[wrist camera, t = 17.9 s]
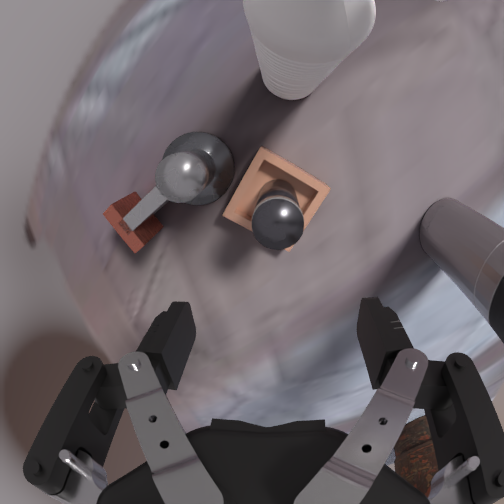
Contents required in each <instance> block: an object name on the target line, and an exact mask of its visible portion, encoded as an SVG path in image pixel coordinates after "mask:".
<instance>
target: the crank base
mask: <svg viewBox="0 0 504 504" xmlns="http://www.w3.org/2000/svg"><path fill="white" fill-rule="evenodd" d="M190 149H201V150H203V151H205V152H207V153H208V154H209V155H210V156H211V157H212V158H213V160H214V163H215V167H216V172H215V176H214V179H213V181H212V182H211V183H210V184H209V185H208V186H207V187H206V188H205V189H203V190H202V191H201V192H200V193H199V194H198V195H197V196H195V197H194V198H193V199H192V200H190V201H187V202H184V203H187V204H192V205H204V204H208V203H211V202H213V201H215V200H217V199H218V198H219V197H221V196H222V195H223V194H224V193H225V191H226V190H227V189H228V187H229V186H230V184H231V182H232V179H233V175H234V161H233V157H232V154H231V152H230V150H229V148H228V147H227V145H226V144H225V143H224V142H223V141H222V140H221V139H219V138H218V137H216V136H214V135H212V134H209V133H205V132H191V133H187V134H184V135H182V136H180V137H178V138H177V139H175V140H174V141H173V142H172V143H171V144H170V145H169V146H168V148H167V149H166V151H165V153H164V156H163V159H164V158H165V157H167V156H169V155H171V154H175V153H178V152H182V151H186V150H190ZM163 159H162V160H163Z"/></svg>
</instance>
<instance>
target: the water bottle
mask: <svg viewBox="0 0 504 504" xmlns="http://www.w3.org/2000/svg"><path fill="white" fill-rule="evenodd" d="M436 1H441V2H445V1H449V0H436ZM243 7H244V12H245V16H246V19H247V21H248V24H249V27H250V31H251V34H252V38H253V42H254V46H255V51H256V55H257V59H258V62H259V66H260V70H261V75H262V79H263V82H264V84H265V86H266V87H267V89H268V90H269V91H270V92H271V93H273V94H274V95H276V96H278V97H280V98H282V99H287V100H297V99H301V98H304V97H306V96H308V95H309V94H311V93H312V92H313V91H314V90H315V89H316V88H317V86H318V85H320V83H321V82H322V81H323V80H324V79H325V78H326V77H327V76H328V75H329V74H331V73H332V71H333V70H334V69H335V68H336V67H337V66H338V65H339V64H340V63H341V62H342V61H343V60H344V59H345V58H346V57H347V56H348V55H349V54H350V53H351V52H352V51H354V50H355V49H356V48H357V47H359V46H360V45H361V44H362V43H363V42H364V41H365V39H366V38H367V37H368V35H369V34H370V32H371V30H372V28H373V25H374V22H375V16H376V8H375V1H374V0H243Z"/></svg>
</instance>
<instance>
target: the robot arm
mask: <svg viewBox="0 0 504 504" xmlns="http://www.w3.org/2000/svg"><path fill="white" fill-rule="evenodd" d="M420 242H421V245H422V248H423V250H424V251H425V252H426V253H427V254H428V255H429V256H430V257H431V258H432V260H433V261H434V262H435V263H436V264H437V265H438V266H439V267H440V268H441V269H442V270H443V271H444V272H445V273H446V274H447V275H448V276H449V278H450V279H451V280H452V281H453V282H454V283H455V284H456V285H457V286H458V287H459V289H460V290H461V291H462V292H463V293H464V294H465V295H466V297H467V298H468V299H469V300H470V301H471V302H472V304H473V305H474V306H475V307H476V308H477V310H478V311H479V312H480V313H481V314H482V316H483V317H484V318H485V319H486V321H487V322H488V323H489V324H490V326H491V327H492V328H493V330H494V331H495V332H496V334H497V335H498V336H499V338H500V339H501V340H502V342H503V343H504V228H503V227H501V226H500V225H498V224H497V223H495V222H493V221H492V220H490V219H488V218H487V217H485V216H483V215H482V214H480V213H478V212H477V211H475V210H473V209H471V208H470V207H468V206H466V205H464V204H462V203H460V202H459V201H457V200H454V199H451V198H445V199H441V200H439V201H437V202H435V203H434V204H433V205H432V206H431V207H430V208H429V209H428V211H427V212H426V214H425V216H424V217H423V220H422V223H421V227H420ZM357 336H358V340H359V343H360V346H361V350H362V353H363V356H364V360H365V363H366V367H367V370H368V374H369V378H370V381H371V385H372V389H373V390H374V389H377V391H376V393H375V394H374V396H373V398H372V399H371V401H370V403H369V404H368V406H367V407H366V409H365V411H364V412H363V414H362V415H361V417H360V418H359V420H358V421H357V423H356V424H355V426H354V427H353V429H352V430H351V432H350V433H349V434H347V433H345V432H343V431H340V430H337V429H334V428H330V427H325V420H310V421H295V422H291V423H287V424H283V425H278V426H273V427H262V426H258V425H254V424H250V423H246V422H243V421H238V420H223V419H212V422H211V426H206V427H201V428H198V429H195V430H193V431H190V432H188V433H187V434H186V433H185V431H184V429H183V427H182V426H181V424H180V422H179V420H178V418H177V416H176V414H175V412H174V410H173V408H172V406H171V404H170V402H169V400H168V398H167V396H166V393H167V390H168V389H172V390H177V388H178V385H179V382H180V379H181V376H182V374H183V371H184V368H185V365H186V363H187V360H188V357H189V354H190V352H191V349H192V346H193V344H194V341H195V337H196V327H195V323H194V319H193V315H192V311H191V307H190V304H189V302H172V303H171V305H170V307H169V309H168V311H167V312H165V311H163V312H162V313H160V314H159V315H158V316H157V317H156V318H155V319H154V321H153V323H152V324H151V326H150V328H149V330H148V332H147V333H146V335H145V336H144V338H143V340H142V342H141V343H140V345H139V347H138V349H137V350H136V352H131V353H128V354H126V355H125V356H123V357H122V358H121V360H120V361H119V363H116V364H106V365H103V363H102V361H101V360H100V358H98V357H95V356H89V357H86V358H83V359H82V360H80V361H79V362H78V363H77V365H76V366H75V368H74V370H73V371H72V373H71V375H70V376H69V378H68V380H67V381H66V383H65V385H64V386H63V388H62V390H61V392H60V394H59V395H58V397H57V399H56V400H55V402H54V404H53V406H52V408H51V409H50V412H49V413H48V415H47V417H46V419H45V421H44V423H43V425H42V426H41V428H40V431H39V432H38V435H37V436H36V438H35V440H34V443H33V445H32V447H31V449H30V451H29V453H28V455H27V457H26V460H25V462H24V465H23V472H24V476H25V478H26V479H27V481H28V482H30V483H31V484H33V485H34V486H36V487H37V488H39V489H40V490H42V491H43V492H44V493H45V494H47V495H49V496H51V497H52V498H54V499H56V500H57V501H59V502H61V503H63V504H493V503H494V502H496V501H498V500H499V499H501V498H503V497H504V432H503V429H502V426H501V424H500V421H499V419H498V416H497V413H496V411H495V408H494V406H493V404H492V401H491V399H490V397H489V394H488V392H487V390H486V388H485V386H484V383H483V381H482V379H481V377H480V375H479V373H478V371H477V369H476V367H475V365H474V363H473V361H472V360H471V358H470V357H468V356H467V355H465V354H463V353H452V354H450V355H449V356H448V357H447V359H446V361H445V362H443V361H431V360H428V359H427V357H426V355H425V354H424V353H423V352H421V351H420V350H417V349H414V348H413V346H412V344H411V342H410V340H409V338H408V336H407V334H406V332H405V330H404V328H403V326H402V324H401V322H400V320H399V318H398V316H397V314H396V313H395V312H394V311H393V310H392V309H390V308H389V307H383V305H382V303H381V301H380V300H379V298H378V297H372V298H362V300H361V304H360V310H359V316H358V322H357ZM94 400H95V403H94V404H93V407H92V409H91V411H90V413H89V410H90V407H91V405H92V403H93V401H94ZM124 408H127V409H128V412H129V415H130V418H131V421H132V424H133V427H134V429H135V432H136V435H137V437H138V440H139V443H140V445H141V448H142V450H143V452H144V455H145V457H146V460H147V461H146V462H145V463H143V464H142V465H140V466H138V467H137V468H135V469H134V470H132V471H131V472H129V473H127V474H126V475H124V476H123V477H121V478H119V479H118V480H116V481H114V482H113V483H111V484H109V485H108V483H107V475H106V472H105V470H104V468H103V465H104V462H105V459H106V456H107V453H108V450H109V448H110V445H111V442H112V439H113V437H114V434H115V431H116V429H117V426H118V423H119V421H120V418H121V416H122V413H123V410H124ZM413 408H419V409H424V410H425V414H426V418H427V421H428V425H429V429H430V433H431V437H432V442H433V446H434V450H435V455H436V460H437V465H438V470H439V471H438V472H437V473H436V474H435V475H434V477H433V479H432V481H431V491H430V494H429V497H428V498H427V497H426V496H425V495H424V494H423V493H422V492H421V491H419V490H418V489H417V488H415V487H414V486H413V485H411V484H410V483H409V482H407V481H406V480H405V479H403V478H402V477H401V476H400V475H398V474H397V473H396V472H394V471H393V470H392V469H391V468H389V467H388V466H387V465H386V464H385V462H386V460H387V458H388V457H389V455H390V453H391V451H392V449H393V448H394V446H395V444H396V442H397V440H398V438H399V436H400V434H401V432H402V430H403V428H404V426H405V424H406V422H407V420H408V418H409V415H410V413H411V411H412V409H413ZM107 485H108V486H107Z"/></svg>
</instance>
